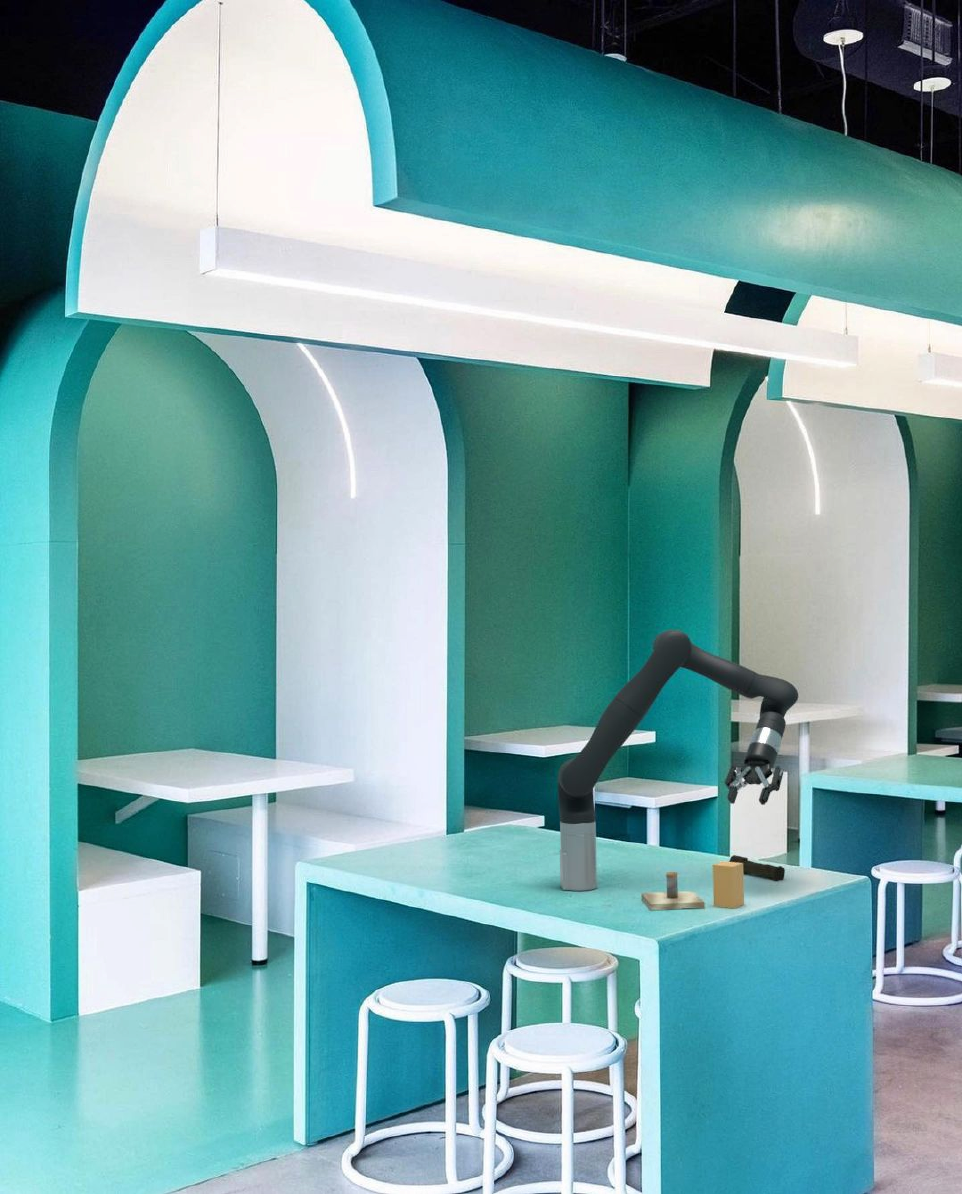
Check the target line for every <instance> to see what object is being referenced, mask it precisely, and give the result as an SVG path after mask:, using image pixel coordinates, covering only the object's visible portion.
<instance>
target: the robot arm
mask: <svg viewBox="0 0 962 1194" xmlns="http://www.w3.org/2000/svg"><path fill="white" fill-rule="evenodd" d="M652 650H653V651H652V652H651V654H650V656H649V657H648V659H647V660H646V662H645V663H644V665H643V666H642V668H641V669H640V670H638V672H637V673H636V674H635V675H634V676H633V677H631V679H629V681H628V682H627V683H625V685H624V686H623V687H621V689H620V690H619V691H618V692H617V693H616V695H615V696H614V697H613V698H612V700H611V701H610V703H609V704H608V705H607V707H606V708H605V709H604V711H603V712H602V714H601V716H600V718H599V720H598V722H597V724H596V726H595V728H594V730H593V733H592V735H591V737H590V738H589V740H588V742H587V743H586V744H585V746H584V747H583V748H582V749H581V751H580V752H579V753H578V754H577V755H576V756H575V757H574V758H571V759H568V760H566V761H565V762H563V763H562V764H561V765H560V767H559V770H558V773H557V792H558V795H557V796H558V797H557V798H558V811H559V827H560V828H559V829H560V830H559V834H560V849H559V869H560V870H559V872H560V873H559V874H560V875H559V879H560V880H559V881H560V887H561V889H562V890H563V891H577V892H578V891H579V892H580V891H591V890H594V889H597V888H598V871H597V870H598V869H597V868H598V867H597V865H598V864H597V863H598V862H597V833H596V831H597V828H596V827H597V826H596V824H597V823H596V809H595V801H594V788H595V786H596V784H597V782H598V781H599V779H600V777H601V776H602V773H603V772H604V770H605V769H606V767H607V765H608V764H609V763H610V761H611V759H612V757H613V756H615V754H616V753H617V752H618V751H619V750H620V749H621V748H622V746H623V745H624V744H625V742H626V741H627V740H628V739H629V737H630V736H632V735H633V734H632V733H634V731H635V730H636V728H637V727H638V726H639V724H640V723H641V722H642V720H643V719H644V718H645V716H646V715H647V713H648V712H649V710H650V708H652V705H653V704H654V702H655V701H656V699H657V697H659V695H660V693H661V691H663V688H664V686H665V685H666V684H667V683H668V681H669V680H670V679H671V678H672V677H673V676H674V675H675V674H676V672H677V671H678V670H679V669H680V668H682V669H685V670H688V671H692V672H693V673H697V674H699V675H701V676H702V677H705V678H707V679H708V680H711V681H713V682H715V683H717V684H718V685H720V686H722V687H724V688H725V689H728V690H730V691H732V692H733V693H736V694H737V695H740V696H742V697H744V698H747V699H750V700H751V699H756V698H758V697H762V701H761V703H760V709H759V719H758V721H757V723H756V727H755V730H754V733H753V735H751V739H750V742H749V744H748V745H749V746H748V748H747V750H746V754H745V756H744V763H743V765H742V766H741V767H737V766H736V765H735V764H733V765H731V766H730V768H729V771H728V773H727V776H726V778H725V780H724V785H725V786H726V788H727V789H728V790H729V791H728V794H727V797H726V799H727V800H728V801H729V803H730V804H731V805H732V804H735V803H736V799H737V796H738V793H739V791H740V790H741V789H742V788H746V787H747V785H751V786H752V785H757V786H758V785H761V784H762V785H763V787H762V788H761V791H760V795H759V798H758V802H759V803H760V804H761V805H762V806H763V805H766V803H768V801H769V797H770V794H771V793H772V792H773V791H775V792H778V791H780V788H781V783H782V781H783V776H784V771H783V770H782V768H781V766H780V765H777V766H775V764H776V761H777V759H778V756H779V753H780V749H781V744H782V739H783V737H784V733H785V730H786V725H787V724H786V719H785V716H786V715H787V712H788V711H789V710H790V709H791V708H792V707H793V706H794V705H795V704H796V703H797V702H798V699H799V691H798V689H797V688H796V687H795V685H794V684H792V683H791V682H790V681H788V680H785V679H783V678H779V677H774V676H770V675H766V674H759V673H758V672H755V671H754V670H751V669H750V668H748V667H746V666H743V665H741V664H739V663H737V662H734V661H731V660H729V659H726V658H723V657H721V656H717V655H715V654H713V653H710V652H708V651H706V650H705V649H702V648H700V647H699V646H698V645H696V644H694V643H692V641H691V638H690V637H689V636H688V635H687V634H686V633H685V632H684V631H682V630H678V629H667V630H663V631H662V632H660V633H659V634H658V635H657V636H656V637H655V638H654V640H653V644H652ZM772 775H773V776H772ZM771 776H772V778H771V782H769V780H768V779H769V778H770V777H771ZM743 780H744V781H743Z"/></svg>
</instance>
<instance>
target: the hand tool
mask: <svg viewBox="0 0 962 1194" xmlns="http://www.w3.org/2000/svg"><path fill="white" fill-rule="evenodd" d="M728 862H736V863H743V875H745V874H749V875H754V876H760V877H764V878H767V879H770V880H772V879H773V880H774V882H779V881H778V880H781V881H784V879H785V875H786V869H785V868H784V867H783V866H781V865H779V866H775V865H771V864H768V863H767V864H766V863H765V864H764V863H761V862H755V861H752V860H751V861H750V860H749V859H748V857H746V856H740V855H735V854H733V855H731V857H730V858H729V861H728Z"/></svg>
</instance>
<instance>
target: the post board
mask: <svg viewBox="0 0 962 1194" xmlns="http://www.w3.org/2000/svg"><path fill="white" fill-rule="evenodd" d="M665 876H666V891H662V892H641V900H642V901H643V903H644V904H645V906H647V908H648V909H649V910H650V911H668V910H667V909H677V910H682V909H681V908H704V909H705V908H706V907H705V904H706V903H705V901H704V900H703V899H702V898H701V897H700V896H699V895H698V894H697V893H696V892H694V890H693V891H692V890H691V891H689V890H688V891H678V889H679V888H678V872H676V871H669V872H666V875H665ZM679 908H680V909H679Z"/></svg>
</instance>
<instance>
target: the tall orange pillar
mask: <svg viewBox="0 0 962 1194" xmlns="http://www.w3.org/2000/svg"><path fill="white" fill-rule="evenodd" d="M744 885H745V881H744V874H743V863H736V862H729V861H725V860H723V861H720V862H717V863H714V864H712V886H713V887H712V890H713V891H712V893H713V907H716V906H721V907H720V908H725V907H727V908H728V909H733V908H734V909H737V908H739V907H741V905H742V906H743V904H744V905H745V887H744ZM736 907H737V908H736Z"/></svg>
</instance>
